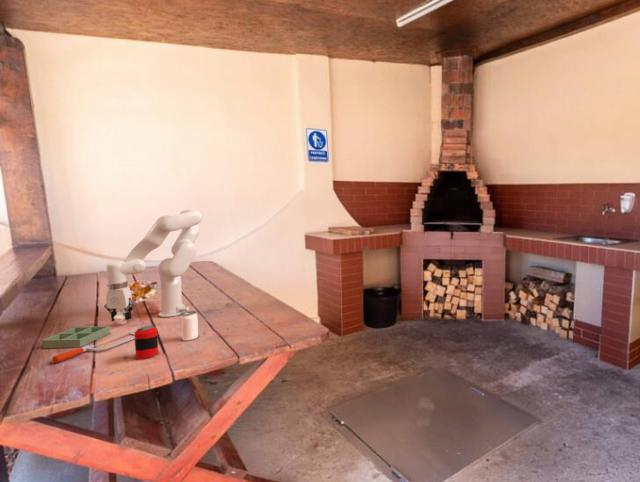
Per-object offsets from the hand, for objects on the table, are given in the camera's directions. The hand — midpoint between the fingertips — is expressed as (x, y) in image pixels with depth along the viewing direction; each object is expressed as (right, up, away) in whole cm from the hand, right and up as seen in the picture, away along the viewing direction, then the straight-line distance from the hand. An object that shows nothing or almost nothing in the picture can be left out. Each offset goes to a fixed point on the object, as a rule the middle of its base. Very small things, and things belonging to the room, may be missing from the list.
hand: (121, 319), depth 202 cm
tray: (-5, -4, -19) cm, 20 cm away
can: (+47, -4, -17) cm, 50 cm away
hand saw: (+15, -5, -27) cm, 31 cm away
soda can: (+41, -5, -36) cm, 55 cm away
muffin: (0, -2, 0) cm, 2 cm away
